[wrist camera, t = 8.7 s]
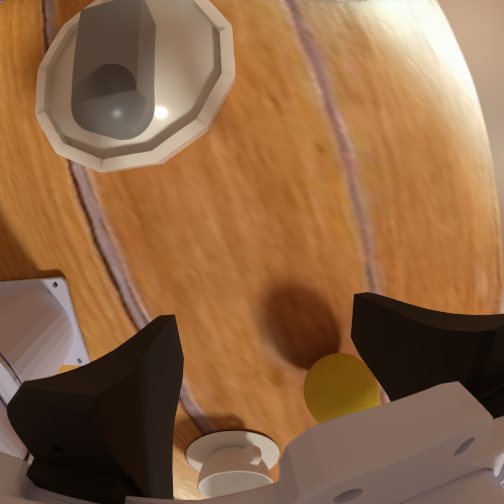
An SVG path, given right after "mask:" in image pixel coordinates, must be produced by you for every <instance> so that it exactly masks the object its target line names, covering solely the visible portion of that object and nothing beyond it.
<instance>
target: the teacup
mask: <svg viewBox="0 0 504 504" xmlns="http://www.w3.org/2000/svg"><path fill="white" fill-rule="evenodd" d="M279 455H280V453H279V448H278V446H277V445H276V444H275V443H274V442H273V441H272V440H271V439H269V438H267V437H265V436H263V435H260V434H257V433H252V432H246V431H224V432H217V433H213V434H209V435H206V436H203V437H201V438H199V439H197V440H196V441H194V442H193V443H192V444H191V445H190V446H189V447H188V449H187V452H186V459H187V462H188V464H189V465H190V466H191V467H192V468H193V469H194V470H196V471H197V472H199V473H200V474H199V480H198V485H197V487H198V490H199V492H200V493H201V494H202V495H203V496H205V497H206V498H208V499H209V498H214V497H219V496H224V495H229V494H233V493H238V492H242V491H246V490H250V489H254V488H257V487H261V486H264V485H268V484H271V483H273V481H272V478H271V475H270V472H269V469H270V468H272V467H273V466H274V465H275V464H276V462H277V461H278V459H279Z"/></svg>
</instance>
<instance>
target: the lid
mask: <svg viewBox="0 0 504 504" xmlns="http://www.w3.org/2000/svg"><path fill="white" fill-rule="evenodd" d="M335 1H343V2H360V1H367V0H335Z"/></svg>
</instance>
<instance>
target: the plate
mask: <svg viewBox="0 0 504 504" xmlns="http://www.w3.org/2000/svg"><path fill="white" fill-rule="evenodd" d="M145 1H146V3H147V6H148V8H149V10H150V13H151V15H152V17H153V20H154V22H155V24H156V34H155V76H154V88H155V112H154V116H153V119H152V121H151V123H150V125H149V126H148V128H147V129H146V130H145V131H144V132H143V133H142V134H140V135H139V136H137V137H135V138H133V139H129V140H117V139H113V138H110V137H107V136H103V135H100V134H97V133H93V132H90V131H86V130H84V129H82V128H81V127H80V126H79V125H78V124H77V123H76V122H75V120H74V118H73V115H72V111H71V92H72V76H73V64H74V54H75V45H76V38H77V31H78V25H79V19H80V13H81V11H80V12H79V13H77V14H76V15H75V16H74V17H72V18H71V19H70V20H69V21H67V22H66V23H65V24H64V25H63V26H62V28H61V29H60V31H59V32H58V34H57V36H56V37H55V39H54V41H53V42H52V44H51V46H50V48H49V49H48V51H47V53H46V55H45V56H44V58H43V60H42V62H41V64H40V66H39V69H38V74H37V86H36V103H35V116H36V118H37V120H38V122H39V124H40V125H41V127H42V129H43V131H44V133H45V134H46V136H47V138H48V140H49V142H50V143H51V145H52V147H53V149H54V150H55V152H56V154H58V155H61V156H63V157H65V158H68V159H70V160H72V161H74V162H77V163H79V164H81V165H84V166H86V167H88V168H91V169H93V170H95V171H97V172H100V173H103V172H116V171H122V170H128V169H134V168H140V167H147V166H154V165H161V164H163V163H165V162H166V161H167V160H169V159H170V158H171V157H173V156H174V155H176V154H177V153H178V152H180V151H181V150H182V149H184V148H185V147H187V146H188V145H190V144H191V143H192V142H194V141H195V140H197V139H198V138H200V137H201V136H203V135H204V134H205V133H207V132H208V131H209V130H210V128H211V126H212V124H213V122H214V120H215V118H216V116H217V114H218V112H219V110H220V109H221V107H222V105H223V103H224V101H225V99H226V98H227V96H228V94H229V92H230V90H231V88H232V87H233V85H234V80H235V62H234V48H233V33H232V25H231V24H230V23H229V22H228V21H227V20H226V19H225V17H224V16H223V15H222V14H221V13H220V12H219V11H218V10H217V9H216V7H215V6H214V5H213V4H212V3H211V2H210V1H209V0H145ZM101 2H102V0H95V1H94V2H92V3H91V4H89V5H88V6H87V7H85V8H84V9H86V8H89V7H92V6H96V5H99V4H101Z"/></svg>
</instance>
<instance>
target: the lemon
mask: <svg viewBox="0 0 504 504" xmlns="http://www.w3.org/2000/svg"><path fill="white" fill-rule="evenodd" d="M304 396H305V401H306V405H307V407H308V409H309V411H310V413H311V414H312V415H313V417H314V418H315V420H316V421H317V422H318V423H319V424H320V423H323V422H325V421H328V420H330V419H333V418H335V417H339V416H343V415H347V414H351V413H355V412H359V411H362V410H366V409H370V408H373V407H376V406H378V405H379V400H380V395H379V389H378V384H377V381H376V379H375V377H374V375H373V373H372V372H371V371H370V369H369V368H368V366H367V365H366V364H365V363H364V362H363V361H361V360H360V359H358V358H357V357H355V356H353V355H349V354H346V353H334V354H329V355H327V356H324V357H322V358H321V359H319V360H318V361H317V362H316V363H314V364H313V366H312V367H311V368H310V370H309V371H308V373H307V375H306V378H305V381H304Z"/></svg>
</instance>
